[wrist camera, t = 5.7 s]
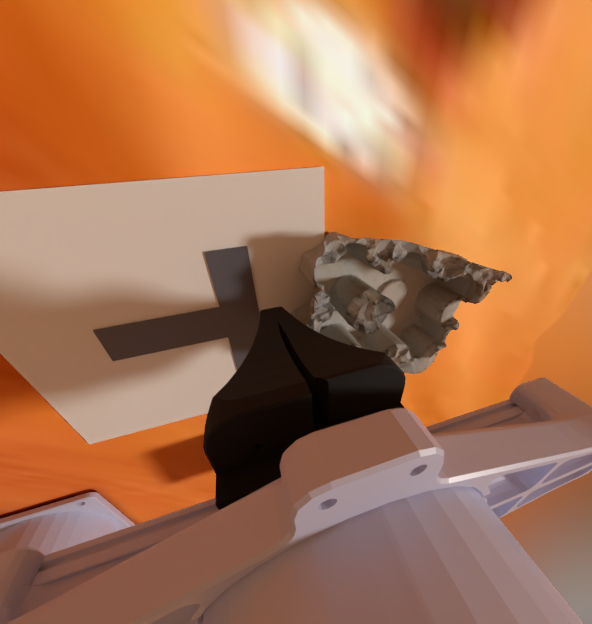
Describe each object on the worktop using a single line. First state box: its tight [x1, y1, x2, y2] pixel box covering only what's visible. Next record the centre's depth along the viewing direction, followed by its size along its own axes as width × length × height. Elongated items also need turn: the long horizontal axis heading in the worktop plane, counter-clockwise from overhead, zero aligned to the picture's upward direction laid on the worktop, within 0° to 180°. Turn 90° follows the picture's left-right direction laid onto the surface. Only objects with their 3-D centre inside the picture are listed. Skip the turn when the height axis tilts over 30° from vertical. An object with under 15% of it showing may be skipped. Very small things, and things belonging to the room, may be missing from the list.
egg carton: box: [290, 232, 512, 374], centre depth 13 cm, size 11×8×4 cm
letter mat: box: [0, 167, 324, 444], centre depth 12 cm, size 16×14×1 cm
